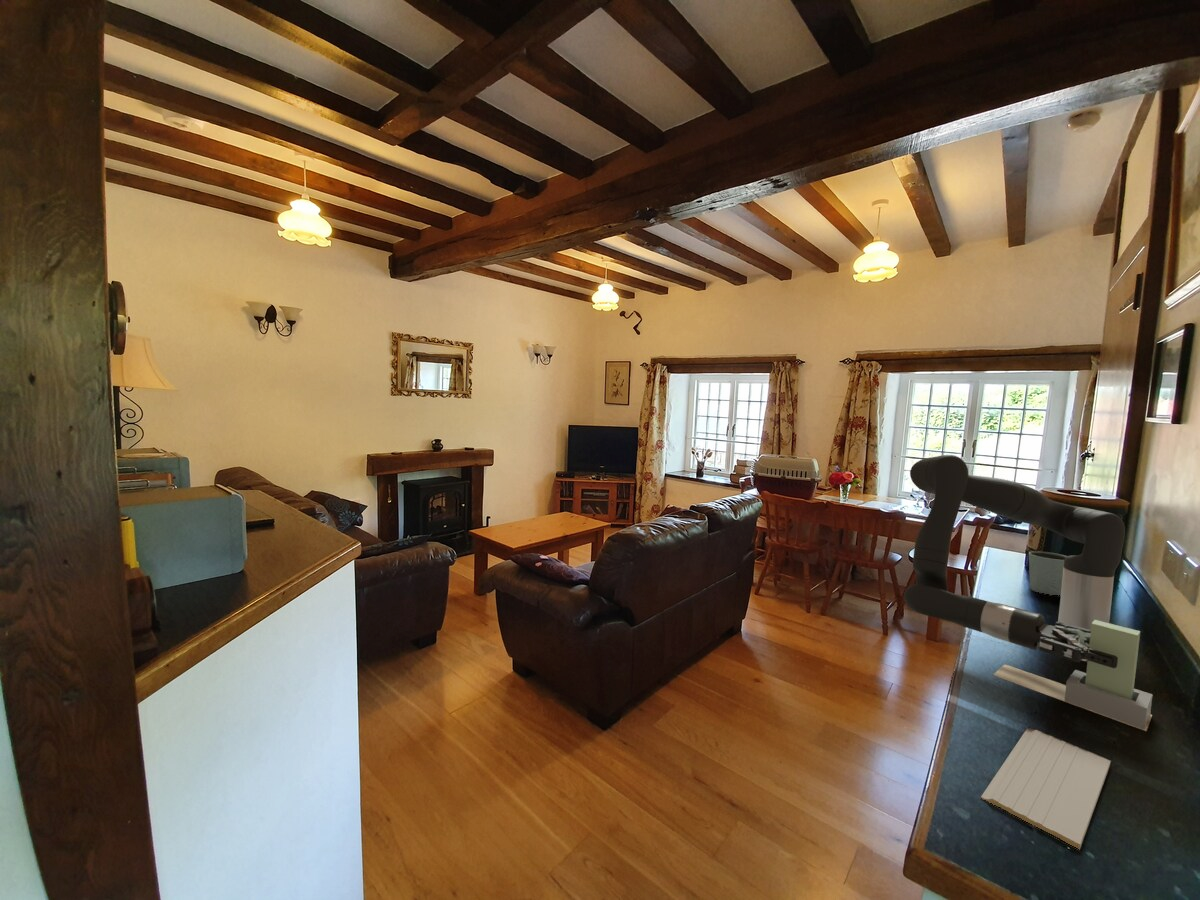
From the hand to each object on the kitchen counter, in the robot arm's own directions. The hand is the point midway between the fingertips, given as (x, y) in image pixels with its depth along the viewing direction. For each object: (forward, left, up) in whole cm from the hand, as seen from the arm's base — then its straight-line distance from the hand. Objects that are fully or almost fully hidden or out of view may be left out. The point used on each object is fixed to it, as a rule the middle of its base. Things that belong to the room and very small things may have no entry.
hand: (1121, 656), depth 91 cm
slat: (0, -1, -11) cm, 11 cm away
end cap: (0, -1, -11) cm, 11 cm away
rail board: (0, -7, -12) cm, 14 cm away
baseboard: (+30, -4, -13) cm, 33 cm away
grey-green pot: (-78, -25, -12) cm, 83 cm away
